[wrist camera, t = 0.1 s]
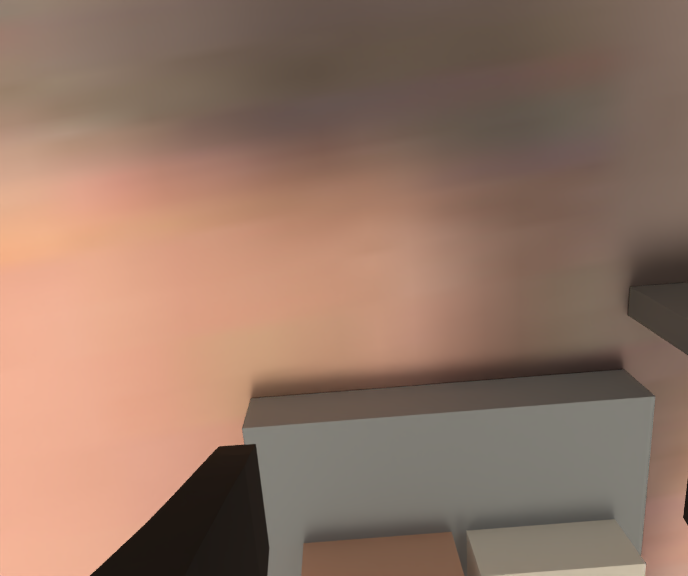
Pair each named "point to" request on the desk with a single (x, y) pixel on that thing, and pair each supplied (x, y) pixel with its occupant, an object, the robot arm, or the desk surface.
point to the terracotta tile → (384, 556)
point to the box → (662, 311)
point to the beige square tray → (553, 551)
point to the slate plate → (451, 459)
